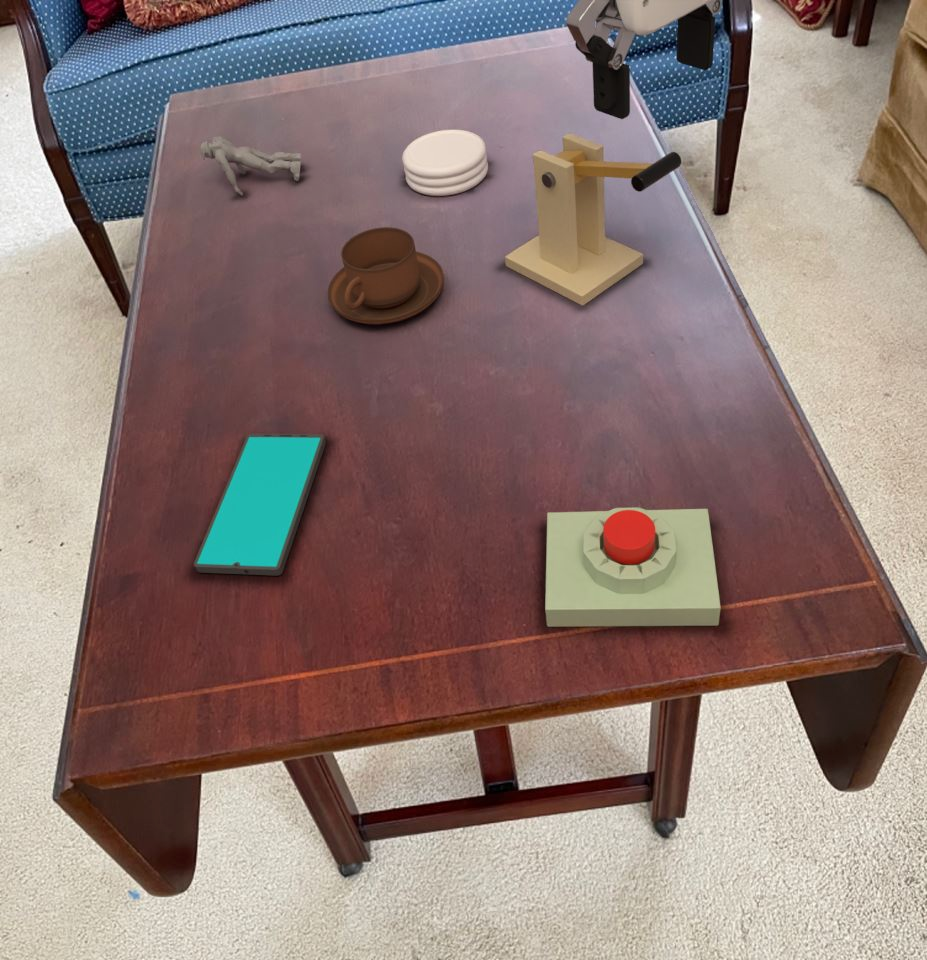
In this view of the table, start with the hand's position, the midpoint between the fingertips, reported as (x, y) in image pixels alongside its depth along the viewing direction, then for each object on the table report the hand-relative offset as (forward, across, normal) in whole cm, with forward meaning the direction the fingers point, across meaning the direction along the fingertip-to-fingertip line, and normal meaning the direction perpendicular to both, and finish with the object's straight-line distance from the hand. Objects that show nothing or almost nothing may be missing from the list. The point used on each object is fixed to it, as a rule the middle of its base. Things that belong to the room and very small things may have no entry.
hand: (654, 88), depth 74 cm
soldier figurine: (+22, -10, +55) cm, 60 cm away
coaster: (+22, +5, +36) cm, 43 cm away
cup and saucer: (+22, -15, +22) cm, 35 cm away
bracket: (+22, +1, +12) cm, 25 cm away
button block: (+22, -25, -19) cm, 38 cm away
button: (+19, -25, -19) cm, 36 cm away
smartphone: (+22, -40, +8) cm, 46 cm away
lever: (+11, +1, +6) cm, 12 cm away
